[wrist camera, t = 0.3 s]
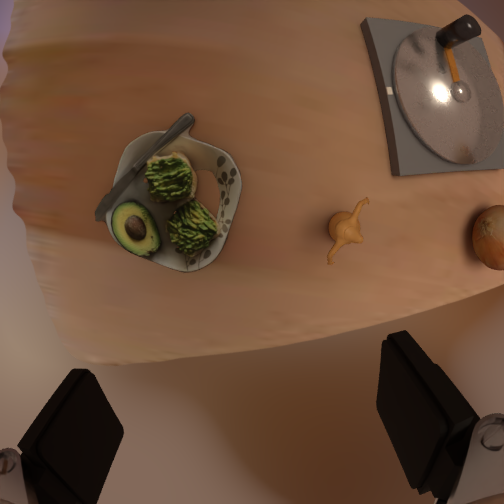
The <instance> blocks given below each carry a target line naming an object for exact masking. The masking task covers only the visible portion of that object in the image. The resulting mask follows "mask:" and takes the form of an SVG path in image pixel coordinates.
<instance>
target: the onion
mask: <svg viewBox="0 0 504 504" xmlns="http://www.w3.org/2000/svg"><path fill="white" fill-rule="evenodd" d="M472 241H473V247H474V251H475V253H476V255H477V256H478V258H479V259H480V260H481V261H482V262H483V263H484V264H485V265H486V266H487V267H489V268H491V269H495V270H504V206H503V205H495V206H492V207H490V208H488V209H487V210H486V211H484V212H483V213H482V214H481V215H480V216H479V217H478V219H477V220H476V222H475V224H474V227H473V233H472Z"/></svg>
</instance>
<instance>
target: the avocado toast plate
mask: <svg viewBox="0 0 504 504" xmlns="http://www.w3.org/2000/svg"><path fill="white" fill-rule="evenodd" d="M194 121H195V119H194V116H193V115H192V114H190V113H186V114H184V115H182V116H181V117H180V118H179V119H178V120H177V121H176V122H175V123H174V124H173V125H172V126H171V127H170V128H169V129H168V130H165V131H154V132H149V133H147V134H144V135H142V136H140V137H138V138H137V139H135V140H134V141H132V142H131V143H130V144H129V145H128V146H127V147H126V148H125V150H124V153H123V155H122V157H121V159H120V162H119V166H118V169H117V172H116V176H115V179H114V184H113V188H112V189H111V191H110V193H109V194H107V195H105V197H104V198H103V199H102V201H101V202H100V204H99V205H98V207H97V209H96V211H95V216H96V221H101V220H102V221H104V222H105V223H106V224H107V226H108V229H109V231H110V233H111V235H112V237H113V239H114V240H115V241H116V242H117V243H118V244H119V245H120V246H121V247H123V248H124V249H125V250H127V251H129V252H130V253H132V254H135V255H137V256H139V257H142V258H145V259H147V260H150V261H153V262H156V263H158V264H160V265H163V266H166V267H168V268H170V269H174V270H177V271H180V272H193V271H197V270H200V269H202V268H203V267H205V266H207V265H208V264H210V263H212V262H213V261H214V260H215V259H216V258H217V256H218V255H219V253H220V252H221V250H222V248H223V246H224V244H225V242H226V239H227V236H228V232H229V229H230V226H231V223H232V220H233V217H234V214H235V212H236V209H237V205H238V203H239V198H240V194H241V190H242V181H241V174H240V171H239V169H238V167H237V165H236V163H235V161H234V159H233V157H232V156H231V154H229V153H228V152H226V151H224V150H222V149H219V148H216V147H215V146H213V145H210V144H208V143H205V142H202V141H198V140H196V139H195V138H193V137H191V136H190V135H189V130H190V128H191V126H192V125H193V124H194ZM197 170H207V171H212V172H213V174H214V176H215V178H216V180H217V183H218V187H219V190H220V205H219V210H218V214H217V218H216V219H215V217H214V216H213V215H212V214H211V213H210V212H209V211H208V209H206V208H205V207H204V206H203V204H201V203H200V202H199V201H197V199H196V198H195V197H194V194H195V192H196V188H197V183H198V181H197V176H196V173H195V171H197ZM144 178H147V180H148V183H144V182H143V179H144ZM175 211H176V213H175V214H174V212H175ZM177 247H179V248H177Z"/></svg>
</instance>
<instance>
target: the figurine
mask: <svg viewBox="0 0 504 504" xmlns="http://www.w3.org/2000/svg"><path fill="white" fill-rule="evenodd" d="M367 202H368V204H369V199H368V198H367V197H366V199H363V200H362V201H359V202H358V204H357V205H356V207H355V209H354V211H353V213H349V212H340V213H337V214H335V215H334V216H333V217H332V219H331V220H330V223H329V233H330V235H331V237H332V238H333V239H334V240H335V241H336V242H335V244H334V246H333V247H332V248H331V250H330V251H329V253H328V255H327V258H328V263H327V264H328V265H331V264H333V263H334V262H332V256H333V255H334V254H335V253H336V252H337V251H338V249H339V248H340V247H341V246H343V245H344V244H350V243H351V242H353V243H362V242H363V237H362V235H361V233H360V223H359V221H358V215H359V213H360V211H361V207H362V206H363V205H364V204H366V203H367Z"/></svg>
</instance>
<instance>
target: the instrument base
mask: <svg viewBox="0 0 504 504" xmlns="http://www.w3.org/2000/svg"><path fill="white" fill-rule="evenodd" d="M360 25H361V28H362V32H363V35H364V38H365V42H366V45H367V49H368V52H369V56H370V60H371V64H372V68H373V72H374V76H375V80H376V84H377V89H378V93H379V98H380V103H381V108H382V113H383V119H384V124H385V130H386V136H387V142H388V149H389V156H390V164H391V172H392V175H396V176H404V175H415V174H427V173H439V172H453V171H468V170H487V169H504V127H503V132H502V136H501V139H500V141H499V144H498V146H497V147H496V149H495V150H494V152H493V153H492V154H491V155H490V156H489V157H488V158H487V159H485V160H483V161H481V162H478V163H475V164H457V163H452V162H449V161H446V160H444V159H442V158H440V157H438V156H437V155H435V154H434V153H433V152H431V151H430V150H429V149H428V148H427V147H425V146H424V145H423V144H422V143H421V141H420V140H419V139H418V138H417V137H416V136H415V134H414V133H413V131H412V130H411V129H410V127H409V125H408V124H407V122H406V120H405V119H404V116H403V114H402V112H401V110H400V108H399V105H398V102H397V99H396V96H395V92H394V87H393V81H392V65H393V59H394V55H395V52H396V50H397V48H398V46H399V45H400V43H401V42H402V41H403V40H404V39H405V38H406V37H407V36H408V35H410V34H411V33H413V32H414V31H416V30H418V29H420V28H425V27H435V26H430V25H424V24H418V23H412V22H405V21H398V20H389V19H379V18H367V17H366V18H365V19H364V21H363V22H362V23H361V24H360ZM438 28H440V27H438ZM468 42H469V43H470V44H471V45H472V46H473V47H474V48H475V49H476V50H477V51H478V52H479V53H480V54H481V56H482V57H483V58H484V59H485V61H486V62H487V64H488V65H489V67H490V63H489V60H488V56H487V53H486V50H485V47H484V44H483V41H482V38H479V37H474V38H472V39H470V40H468ZM490 69H491V67H490Z"/></svg>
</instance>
